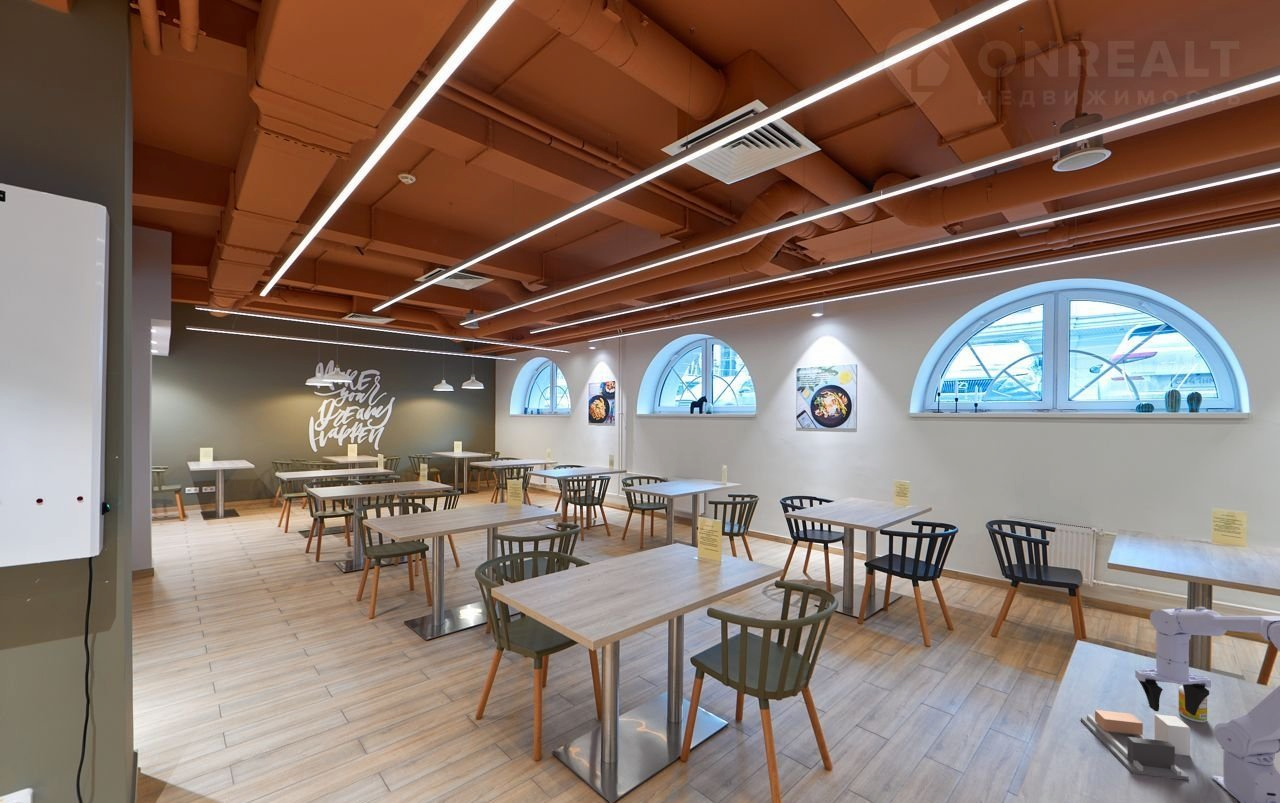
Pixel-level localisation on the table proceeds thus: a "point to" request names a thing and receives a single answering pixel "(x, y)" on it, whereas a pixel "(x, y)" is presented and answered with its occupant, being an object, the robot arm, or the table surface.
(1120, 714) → the peach block
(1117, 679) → the table surface
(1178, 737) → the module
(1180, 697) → the supplement bottle
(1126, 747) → the rail holder
